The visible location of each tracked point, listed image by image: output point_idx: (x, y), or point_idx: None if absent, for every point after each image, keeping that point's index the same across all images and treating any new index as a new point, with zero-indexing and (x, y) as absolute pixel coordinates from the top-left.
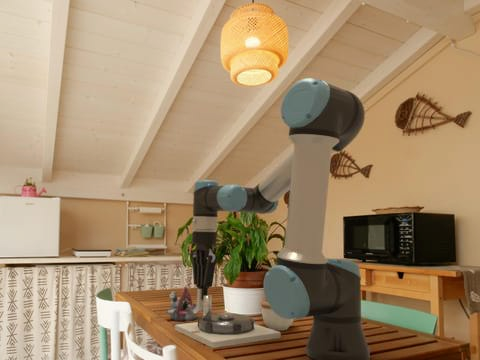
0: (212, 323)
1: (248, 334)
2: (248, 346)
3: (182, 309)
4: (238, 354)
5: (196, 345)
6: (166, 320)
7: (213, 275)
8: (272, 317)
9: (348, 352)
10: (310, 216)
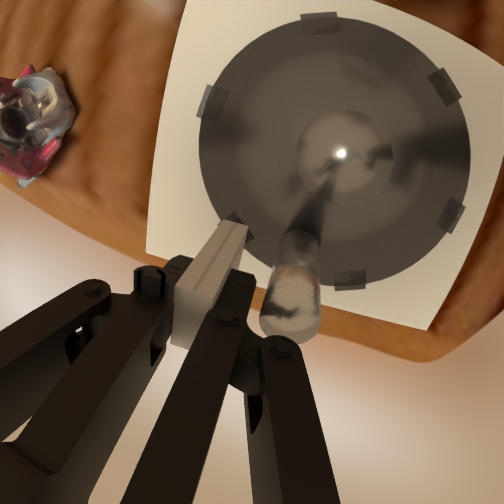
0: (364, 278)
1: (470, 178)
2: (491, 239)
3: (28, 137)
4: (493, 312)
5: (365, 330)
6: (41, 178)
7: (323, 444)
8: None
9: None
10: None
